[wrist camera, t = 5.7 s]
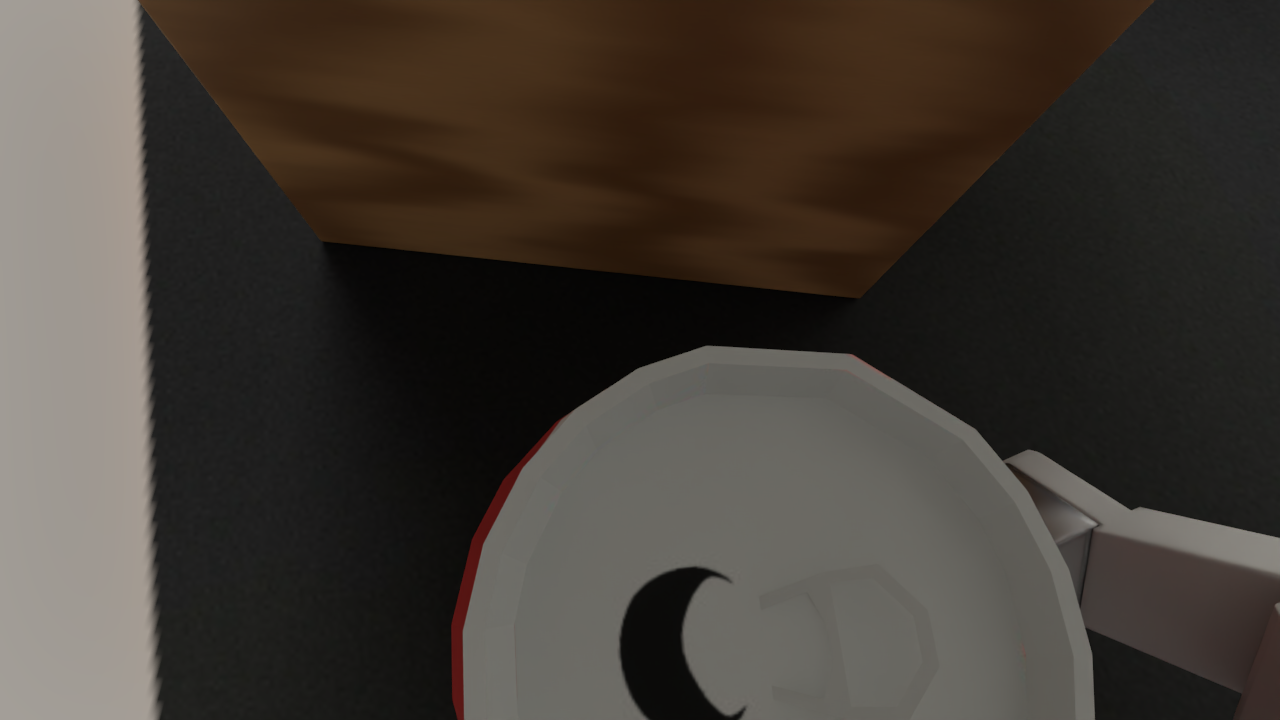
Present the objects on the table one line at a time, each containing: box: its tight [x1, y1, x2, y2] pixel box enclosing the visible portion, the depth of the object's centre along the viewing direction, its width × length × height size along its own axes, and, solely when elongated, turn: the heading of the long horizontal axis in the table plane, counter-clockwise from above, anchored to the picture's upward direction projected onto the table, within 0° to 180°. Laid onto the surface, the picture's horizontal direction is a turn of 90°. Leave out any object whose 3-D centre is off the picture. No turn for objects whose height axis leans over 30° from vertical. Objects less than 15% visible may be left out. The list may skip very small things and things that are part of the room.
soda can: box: [451, 346, 1095, 720], centre depth 11 cm, size 6×6×12 cm
